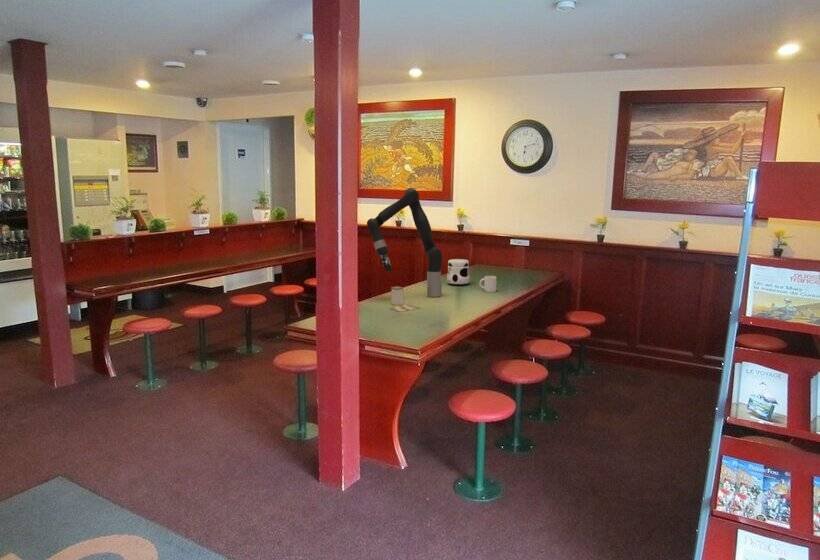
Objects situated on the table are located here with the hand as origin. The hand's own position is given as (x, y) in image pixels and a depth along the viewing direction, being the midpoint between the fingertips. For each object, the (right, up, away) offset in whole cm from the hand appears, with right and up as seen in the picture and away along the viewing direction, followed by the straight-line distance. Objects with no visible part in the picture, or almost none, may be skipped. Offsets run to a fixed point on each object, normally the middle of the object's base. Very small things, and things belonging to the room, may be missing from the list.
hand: (389, 271), depth 375 cm
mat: (+10, -23, -18) cm, 31 cm away
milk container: (+50, -9, +57) cm, 76 cm away
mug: (+68, -14, +33) cm, 77 cm away
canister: (+5, -21, -6) cm, 23 cm away
